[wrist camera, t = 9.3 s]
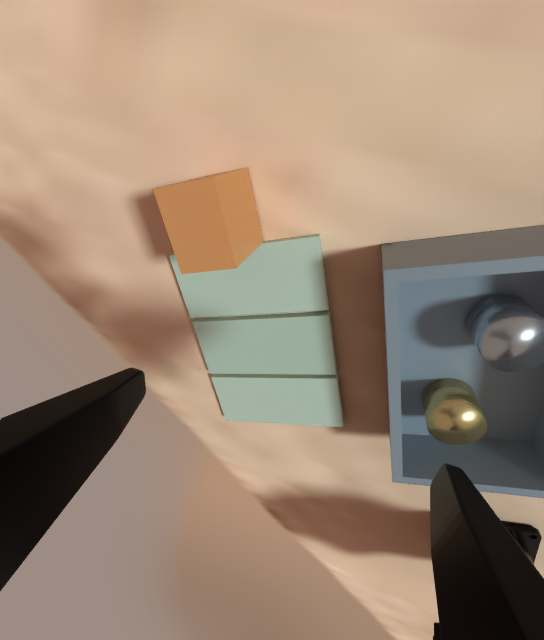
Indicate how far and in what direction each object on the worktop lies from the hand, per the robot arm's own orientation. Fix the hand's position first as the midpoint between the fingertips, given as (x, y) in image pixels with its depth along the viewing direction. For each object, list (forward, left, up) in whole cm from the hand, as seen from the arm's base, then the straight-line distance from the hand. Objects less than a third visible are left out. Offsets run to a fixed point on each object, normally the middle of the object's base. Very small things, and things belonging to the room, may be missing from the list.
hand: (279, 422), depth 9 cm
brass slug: (-8, -7, -11) cm, 15 cm away
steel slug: (-3, -9, -11) cm, 14 cm away
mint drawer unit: (-2, +5, -12) cm, 13 cm away
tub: (-5, -8, -11) cm, 15 cm away
